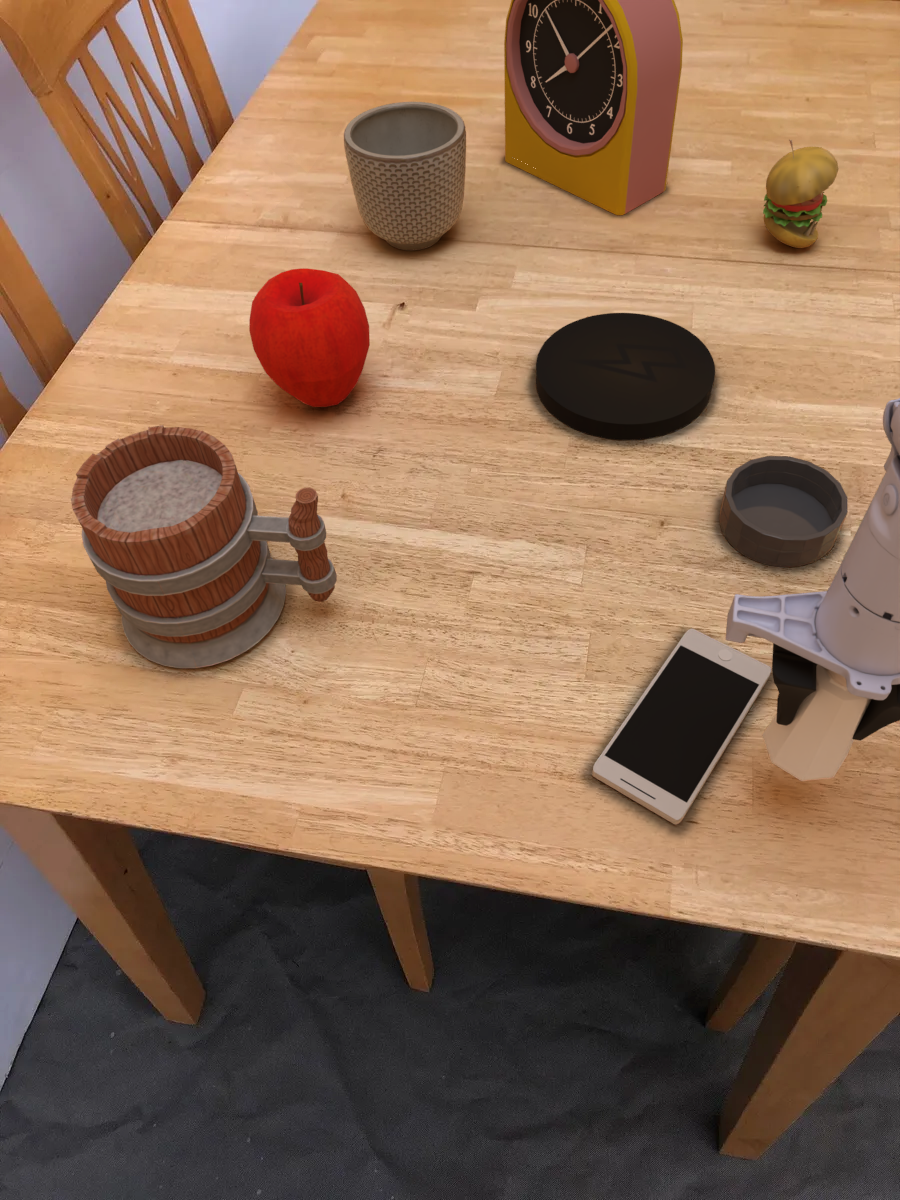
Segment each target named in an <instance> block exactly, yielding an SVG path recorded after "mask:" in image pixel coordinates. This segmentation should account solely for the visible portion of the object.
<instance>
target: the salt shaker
mask: <svg viewBox="0 0 900 1200" xmlns="http://www.w3.org/2000/svg"><path fill="white" fill-rule="evenodd" d="M870 701H871V699H869V698H864V697H859V696H855V695H853V694H851V693H850V692H849V691H848V689H847V686H846V679H845V678H844V677H843V676H841V675H839V674H837V673H835V672H833V671H831V670H829V669H827V668H824V667H822V666H820V665H817V666H816V691H815V692H813V693H811V694H810V695H809V696H807V697H806V699H805V700H804V701H803V702H802V703H801V704H800V706H799V708H798V710H797V712H796V715H795V717H794V719H793V721H792V722H791V724H789V725H787V726H785V725H780V724H778V723H777V722H776V721H777V712H776V713H775V714H774V716H773V718H772V719H771V720H770V722H769V724H768V725H767V726H766V727H765V729H764V730H763V732H762V733H761V738H762V740H763V742H764V745H765V748H766V751H767V754H768V757H769V759H770V763H771V764H773V765H774V766H776V767H778V768H779V769H781V770H782V771H783V772H786V773H787V774H788V775H791V776H792V777H794V778H796V779H797V780H799V781H801V782H806V781H817V780H827V779H834V778H835V776H836V775H837V773H838V771H839V770H840V768H841V767H842V765H843V763H844V762H845V760H846V758H847V757H848V755H849V753H850V751H851V749H852V746H853V744H854V741H855V740H854V739H852V738H853V736H854V733H855V731H856V729H857V727H858V725H859V723H860V721H861V719H862V717H863V715H864V713H865V711H866V709H867V707H868V705H869V703H870Z"/></svg>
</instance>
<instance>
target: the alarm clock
mask: <svg viewBox="0 0 900 1200" xmlns="http://www.w3.org/2000/svg"><path fill="white" fill-rule="evenodd" d="M680 19H681V18H680V14H679V11H678V7H677V4H676V1H675V0H511V1H510V4H509V7H508V12H507V15H506V19H505V26H504V27H505V29H504V40H503V42H504V44H503V51H504V52H503V53H504V54H503V55H504V61H503V62H504V63H503V64H504V66H503V67H504V161H505V162H506V163H508V164H510V165H511V166H514V167H515V168H518V169H520V170H522V171H524V172H526V173H528V174H530V175H532V176H534V177H536V178H539V179H540V180H542V181H545V182H547V183H549V184H551V185H553V186H555V187H557V188H559V189H561V190H563V191H566V192H568V193H569V194H571V195H574V196H576V197H578V198H580V199H581V200H585V201H586V202H588V203H590V204H592V205H595V206H597V207H598V208H601V209H603V210H604V211H607V212H609V213H611V214H614V215H615V216H624V215H626V214H628V213H629V212H632V211H633V210H635V209H636V208H638V207H640V206H642V205H643V204H646V203H647V202H649V201H650V200H652V199H653V198H655V197H657V196H658V195H660V194H662V193H664V192H665V191H666V188H667V181H668V173H669V166H670V159H671V150H672V142H673V135H674V130H675V129H674V128H675V121H676V113H677V106H678V99H679V90H680V84H681V76H682V68H683V46H684V39H683V33H682V32H683V31H682V26H681V20H680ZM512 157H513V158H512ZM514 158H515V159H514ZM517 159H518V160H517ZM521 161H522V162H521ZM525 163H526V164H525ZM527 164H528V165H527ZM533 167H534V168H533ZM535 168H536V169H535Z"/></svg>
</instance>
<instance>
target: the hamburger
mask: <svg viewBox="0 0 900 1200" xmlns="http://www.w3.org/2000/svg"><path fill="white" fill-rule="evenodd" d="M788 141H789V144H790V146H791V151H790V152H788V153H786V154H785V155H782V157H781V158H779V159H778V160H777V161H776V163H775V164H774V165H773V166H772V168H771V169H770V171H769V173H768V175H767V178H766V181H765V190H766V192H765V195H764V197H763V198H764V199H763V201H764V202H765V203H764V204H763V207H764V208H763V210H762V213H763V214H764V215H763V224H764V226H765V228H766V230H767V231H768V232H769V233H770V235H772V237H774V238H775V239H776V240H777V241H779V242H780V243H783V244H784V245H786V246H790V247H793V248H797V249H804V248H808V247H810V246H811V245H814V244H815V242H816V241H817V240H818V237H819V231H818V230H817V229H818V228H816V227H817V225H818V223H819V221H820V220H821V219H822V218H823V213H822V211H823V207H826V205H827V203H828V197H827V195H826V194H824V193H825V191H826V190H828V189H829V188H830V187H831V186H832V184H834V183H835V181H836V178H837V176H838V172H839V164H838V160H837V158H836V157H835V156H834V154H833V153H832V152H831V151H830V150H827V149H825V148H824V147H822V146H821V147H820V146H804V147H800V148H799V147H798V149H794V145H793V139H788Z"/></svg>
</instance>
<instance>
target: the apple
mask: <svg viewBox="0 0 900 1200" xmlns="http://www.w3.org/2000/svg"><path fill="white" fill-rule="evenodd" d="M365 308H366V307H365V306H364V303H363V301H362V300H361V298H360V296H359V293H358V292H357V290H356V289H355V288H354V287H353V286H352V285H351V284H350V283H349V282H348V281H347V280H346V279H345V278H343V276H341V275H340V274H339V273H335V272H331V271H327V270H323V269H317V268H316V269H315V268H309V267H308V268H306V267H305V268H304V267H303V268H301V267H299V268H293V269H288V270H285V271H282V272H280V273H278V274H276V275H275V276H272V277H271V278H268V280H267V281H266V282H265V284H264V285H263V286H262V287H261V288H260V289H259V290H258V291H257V293H256V295H255V296H254V298H253V300H252V301H251V307H250V313H249V320H248V321H249V327H248V328H249V336H250V338H251V339H250V340H251V344H252V349H253V352H254V353H255V355H256V357H257V359H258V362H259V363H260V365H261V367H262V369H263V371H264V373H265V374H266V375H267V376H268V377H269V378H270V379H271V380H272V381H273V382H274V383H275V384H276V386H278V387H279V388H280V389H281V390H283V391H284V392H286V393H287V394H289V395H290V396H291V397H293V398H295V399H296V400H298V401H300V402H301V403H303V404H304V405H306V406H310V407H312V408H327V407H333V406H337V405H339V404H340V403H342V402H343V401H345V400H346V399H347V398H348V396H349V395H350V394H351V392H353V389H354V388H355V387H356V386H357V384H358V382H359V380H360V377H361V375H362V372H363V370H364V367H365V363H366V361H367V356H368V353H369V349H370V345H371V341H370V324H369V320H368V315H367V311H366V309H365Z"/></svg>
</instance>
